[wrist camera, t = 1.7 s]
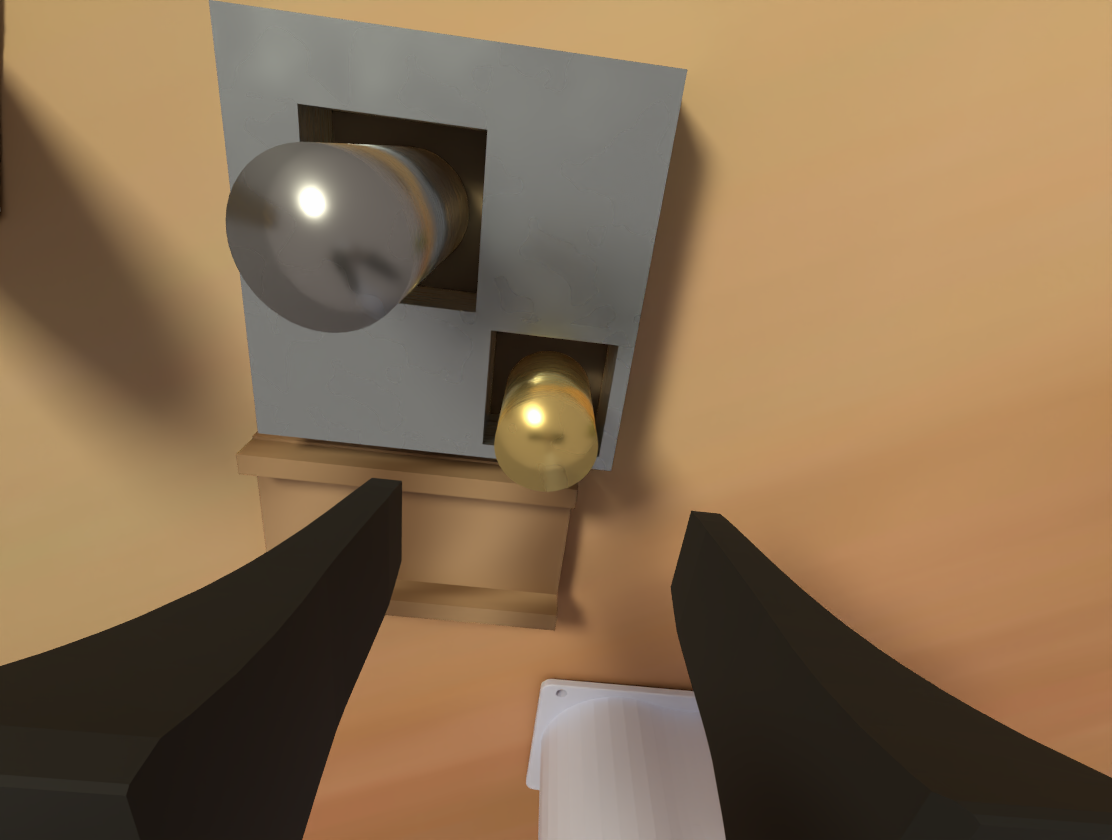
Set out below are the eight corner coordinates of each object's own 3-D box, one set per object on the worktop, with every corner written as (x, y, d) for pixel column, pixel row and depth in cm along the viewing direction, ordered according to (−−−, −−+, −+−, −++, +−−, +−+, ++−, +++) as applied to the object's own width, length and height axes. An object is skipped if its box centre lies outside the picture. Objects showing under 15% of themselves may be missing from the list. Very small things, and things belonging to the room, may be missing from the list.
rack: (576, 457, 22) (578, 487, 20) (554, 594, 25) (554, 632, 23) (265, 424, 22) (235, 451, 20) (280, 568, 25) (256, 604, 23)
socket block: (669, 80, 17) (687, 69, 15) (605, 438, 22) (611, 471, 20) (257, 21, 16) (208, 0, 14) (289, 403, 21) (258, 433, 19)
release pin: (596, 356, 18) (605, 406, 15) (583, 432, 20) (589, 496, 16) (509, 346, 18) (498, 394, 15) (502, 424, 19) (490, 485, 16)
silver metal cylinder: (472, 154, 18) (413, 155, 10) (466, 270, 19) (411, 342, 12) (355, 139, 17) (214, 128, 10) (358, 257, 19) (237, 321, 12)
